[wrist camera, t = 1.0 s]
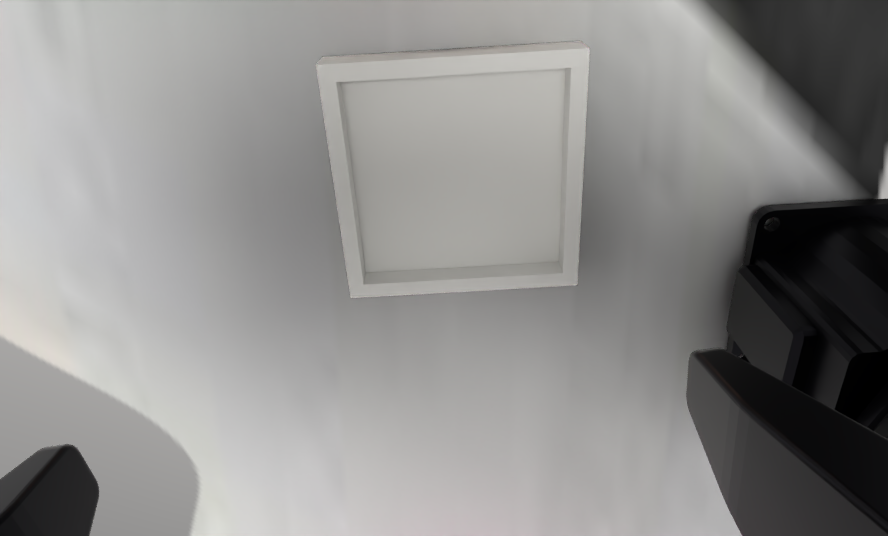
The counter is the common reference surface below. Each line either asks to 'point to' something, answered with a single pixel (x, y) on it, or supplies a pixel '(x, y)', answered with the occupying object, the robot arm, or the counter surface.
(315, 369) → the counter surface
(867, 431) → the robot arm
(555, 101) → the tray grey
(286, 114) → the counter surface
